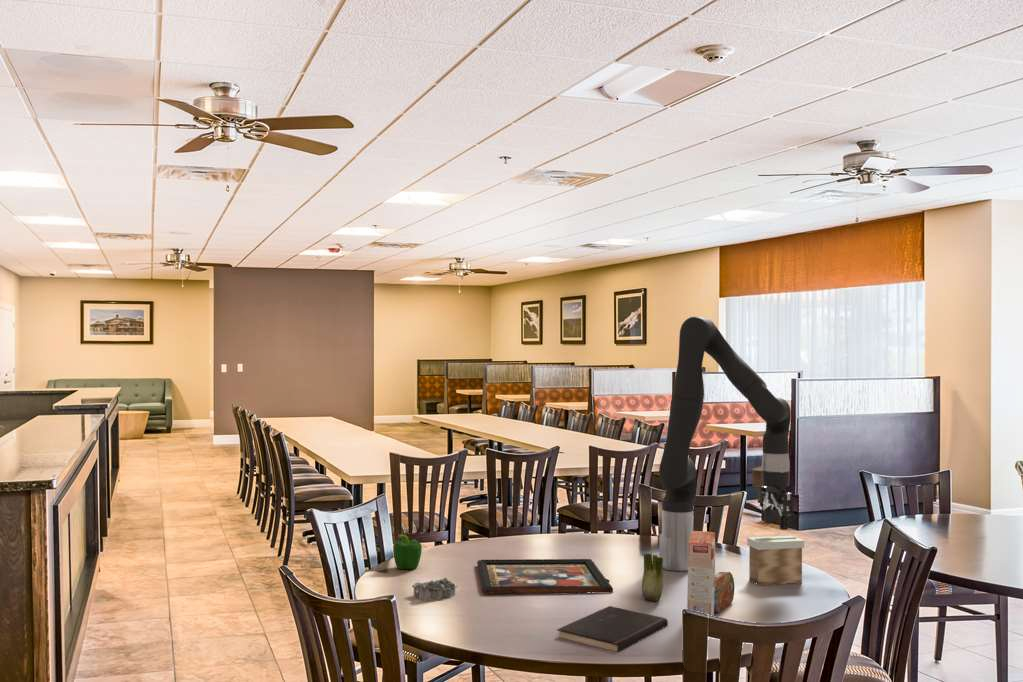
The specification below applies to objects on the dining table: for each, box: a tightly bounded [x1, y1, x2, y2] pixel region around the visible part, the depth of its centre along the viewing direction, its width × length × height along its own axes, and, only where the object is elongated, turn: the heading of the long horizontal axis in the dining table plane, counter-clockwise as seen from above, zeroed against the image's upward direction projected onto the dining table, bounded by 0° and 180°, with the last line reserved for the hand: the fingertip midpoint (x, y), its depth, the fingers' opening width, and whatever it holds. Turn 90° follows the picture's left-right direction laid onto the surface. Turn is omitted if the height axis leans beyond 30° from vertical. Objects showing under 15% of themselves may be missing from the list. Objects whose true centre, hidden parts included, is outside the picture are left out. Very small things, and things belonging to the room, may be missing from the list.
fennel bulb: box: [641, 553, 664, 602], centre depth 229 cm, size 6×5×12 cm
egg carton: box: [411, 577, 458, 602], centre depth 232 cm, size 11×8×4 cm
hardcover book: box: [556, 605, 669, 653], centre depth 204 cm, size 16×23×2 cm
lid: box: [746, 535, 805, 550], centre depth 248 cm, size 14×7×3 cm, turn 103°
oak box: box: [748, 546, 803, 586], centre depth 248 cm, size 13×6×10 cm, turn 102°
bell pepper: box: [392, 534, 423, 570], centre depth 260 cm, size 8×8×10 cm
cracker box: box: [686, 530, 716, 616], centre depth 210 cm, size 14×6×21 cm, turn 164°
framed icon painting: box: [476, 558, 614, 596], centre depth 250 cm, size 38×35×3 cm
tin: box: [714, 571, 735, 613], centre depth 223 cm, size 15×3×8 cm, turn 146°
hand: (776, 526), depth 248 cm, fingers open, 8 cm apart
